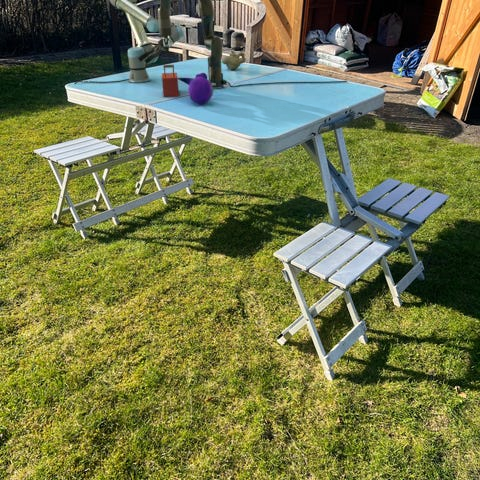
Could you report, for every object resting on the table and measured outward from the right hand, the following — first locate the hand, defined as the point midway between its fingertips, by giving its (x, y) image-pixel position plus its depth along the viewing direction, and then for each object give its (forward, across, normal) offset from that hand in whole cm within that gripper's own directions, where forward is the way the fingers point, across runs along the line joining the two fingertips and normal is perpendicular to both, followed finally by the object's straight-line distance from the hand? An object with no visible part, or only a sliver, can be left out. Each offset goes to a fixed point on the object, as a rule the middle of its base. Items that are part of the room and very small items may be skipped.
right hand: (167, 55), depth 282 cm
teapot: (+25, +86, -53) cm, 104 cm away
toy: (+25, -20, -16) cm, 36 cm away
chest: (+25, +6, 0) cm, 26 cm away
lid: (+14, +6, 0) cm, 15 cm away
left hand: (+9, +41, +18) cm, 45 cm away
